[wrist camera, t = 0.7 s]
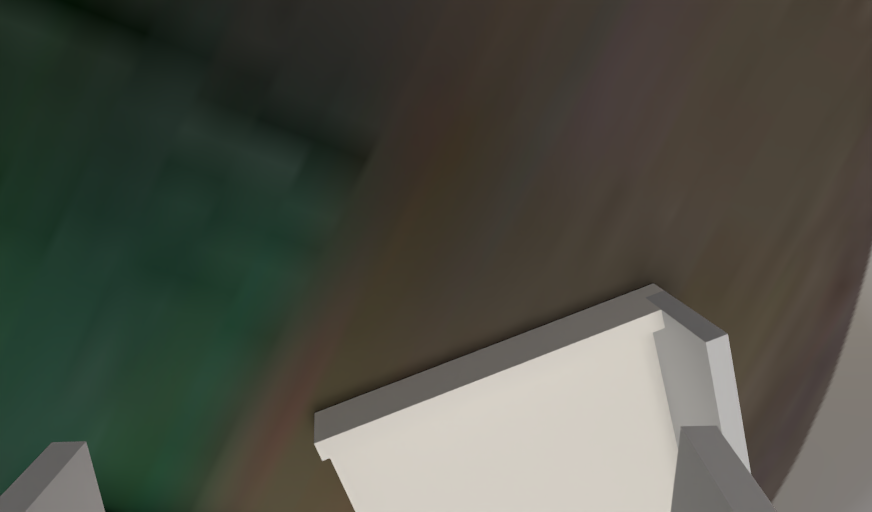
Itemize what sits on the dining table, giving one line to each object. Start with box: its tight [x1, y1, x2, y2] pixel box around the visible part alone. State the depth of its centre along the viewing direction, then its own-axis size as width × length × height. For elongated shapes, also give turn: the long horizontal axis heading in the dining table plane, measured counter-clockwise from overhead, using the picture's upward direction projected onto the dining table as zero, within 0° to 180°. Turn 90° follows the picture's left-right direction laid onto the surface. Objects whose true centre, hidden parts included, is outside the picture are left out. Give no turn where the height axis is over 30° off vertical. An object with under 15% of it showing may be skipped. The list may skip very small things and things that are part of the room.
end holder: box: [314, 283, 751, 512], centre depth 30 cm, size 16×18×6 cm
